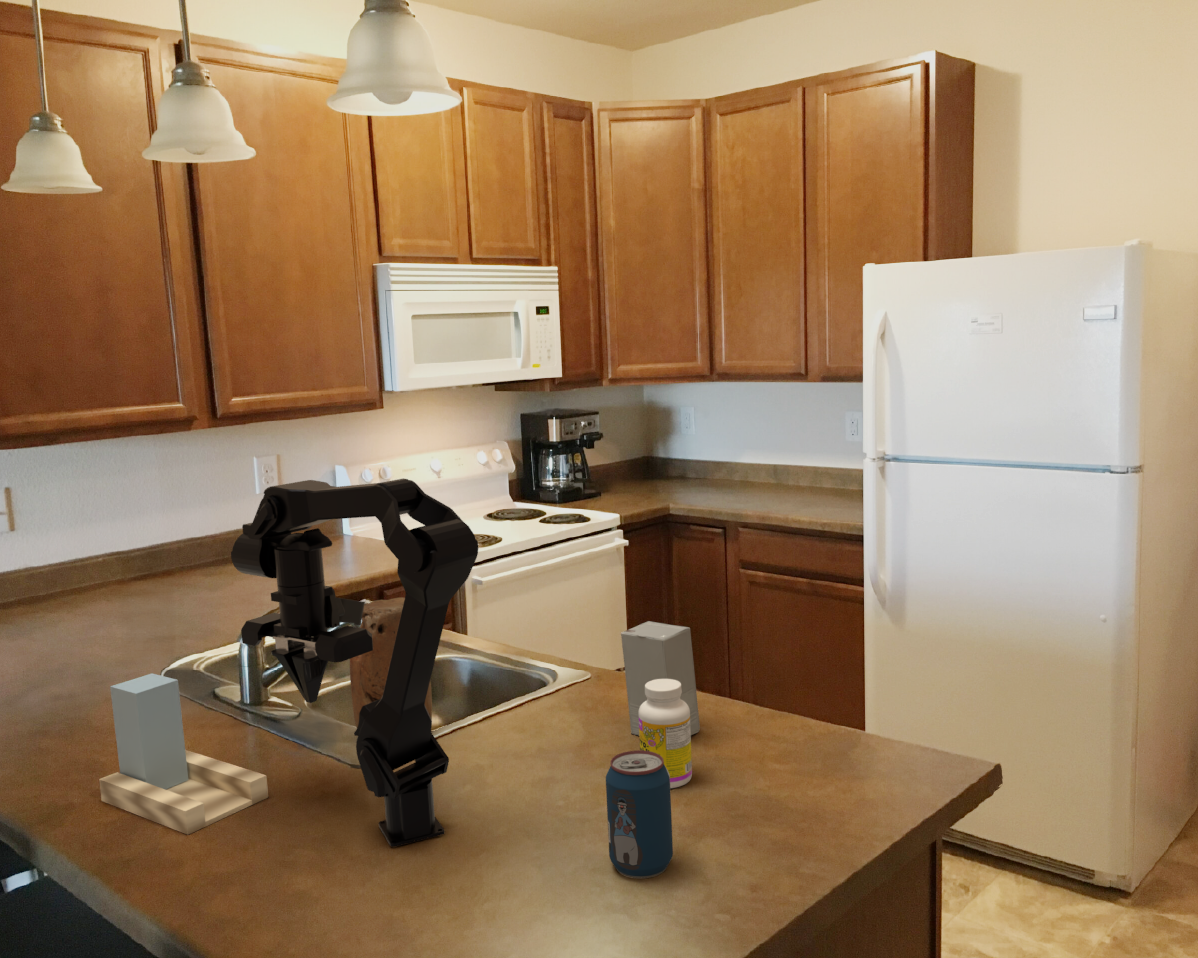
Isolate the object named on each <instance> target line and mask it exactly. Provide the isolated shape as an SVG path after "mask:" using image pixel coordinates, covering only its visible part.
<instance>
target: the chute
mask: <svg viewBox="0 0 1198 958" xmlns="http://www.w3.org/2000/svg"><path fill="white" fill-rule="evenodd" d="M185 752H186V761H187V771H188V780H187V781H185V782H182V783H180V784H178V785H175V786H173V787H171V788H168V789H166V790H165V789H162V788H160V787H157V786H154V785H151V784H149V783H146V782H143V781H140V780H137V779H135V778H132V777H129V776H126V775H123V774H121V773H120V772H118V771H117V772H114V773H112V774H109V775H106V776H104V777H101V778H99V779H98V780H99V788H100V790H99V791H100V799H101V802H103V803H106V804H109V805H111V806H113V807H116V808H118V809H121V810H125V811H127V812H128V813H132V814H134V815H137V816H139V817H141V818H144V819H147V820H149V821H152V822H154V823H157V824H159V825H162V826H165V827H167V828H170V829H172V830H175V831H178V832H180V833H182V834H185V835H191V834H192V833H195V832H197V831H199V830H201V829H203V828H205V827H207V826H210V825H212V824H214V823H216V822H218V821H221V820H223V819H225V818H227V817H229V816H231V815H234V814H235V813H237V812H240V811H242V810H244V809H246V808H248V807H250V806H252V805H255V804H257V803H259V802H262V801H263V800H266V799H267V798H269V790H268V789H269V788H268V780H267V779H268V778H267V775H266V774H264V773H260V772H258V771H255V770H251V769H248V768H244V767H241V766H238V765H235V764H232V763H229V762H225V761H222V760H219V759H216V758H213V757H210V756H206V755H204V754H201V753H197V752H194V751H191V750H187V749H185Z"/></svg>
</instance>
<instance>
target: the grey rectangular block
mask: <svg viewBox="0 0 1198 958" xmlns="http://www.w3.org/2000/svg"><path fill="white" fill-rule="evenodd" d="M109 687H110V689H109V690H110V697H111V705H112V706H111V707H112V712H113V714H112V715H113V724H114V732H115V740H116V747H117V750H116V751H117V756H118V759H117V760H118V765H119V767H118V768H119V773H121V774H123V775H126V776H129V777H132V778H135V779H137V780H140V781H143V782H146V783H149V784H151V785H154V786H157V787H160V788H162V789H165V790H166V789H168V788H171V787H173V786H175V785H178V784H180V783H182V782H185V781H187V780H188V771H187V761H186V752H185V750H186V744H185V734H184V726H183V725H184V724H183V716H182V706H181V699H180V697H181V696H180V687H179V680H178V679H176V678H171V677H167V676H164V675H161V674H156V673H148V674H145V675H143V676H139V677H136V678H132V679H130V680H126V681H123V682H119V683H117V684H114V685H110V686H109Z"/></svg>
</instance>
